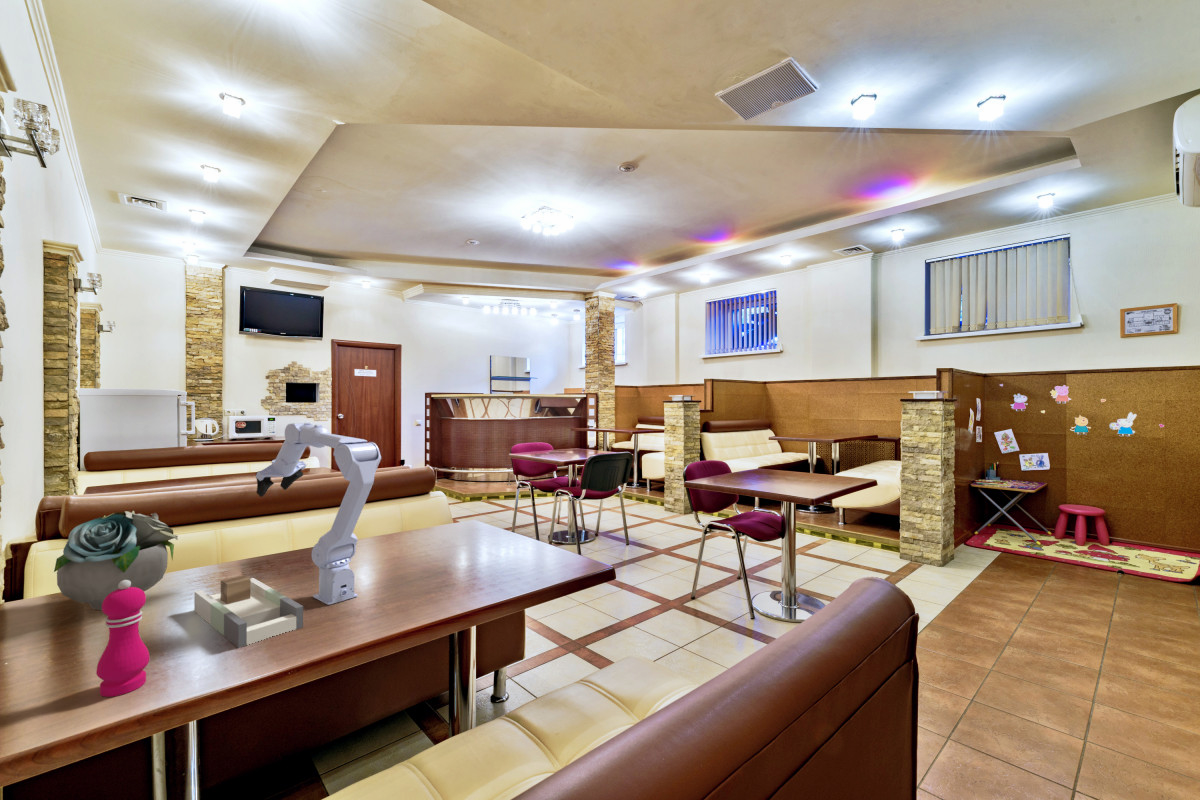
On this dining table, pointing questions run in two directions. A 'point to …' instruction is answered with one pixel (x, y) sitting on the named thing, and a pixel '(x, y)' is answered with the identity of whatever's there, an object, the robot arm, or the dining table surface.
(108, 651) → the pepper mill
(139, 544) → the flower arrangement
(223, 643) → the dining table surface
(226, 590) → the walnut block
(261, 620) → the tray
